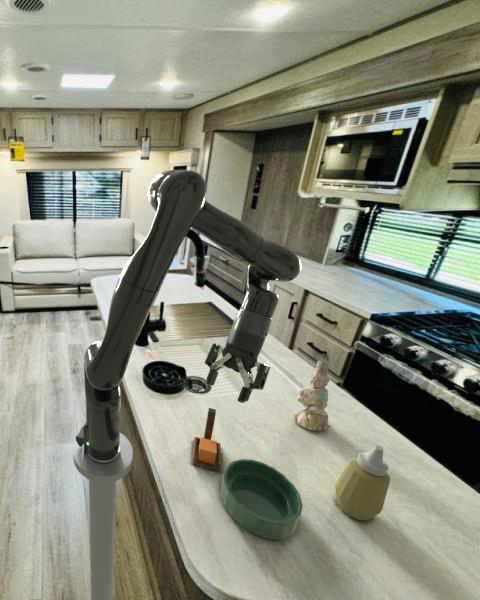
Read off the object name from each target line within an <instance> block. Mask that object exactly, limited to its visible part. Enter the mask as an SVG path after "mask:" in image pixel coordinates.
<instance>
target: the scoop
mask: <svg viewBox="0 0 480 600" xmlns="http://www.w3.org/2000/svg"><path fill="white" fill-rule="evenodd" d="M207 409H208V410H207V417H206V421H205V422H206V423H205V428H204V435H203V438H204V439H208V440H212V436H213V432H214V427H215V419H216V414H217V409H215V408H211V407H208V408H207ZM200 438H201V437H196V436H194V439H193V449H192V451H193V452H192V465H195V466H197V467H201V468H205V469H207V470H211V471H215V472H218V473H220V472H221V467H222V457H221V456H222V455H221V454H222V453H221V452H222V451H221V443H220V442H217V454H216V459H215V464H211V463H207V462H203V461H200V460H198V454H199V444H200Z"/></svg>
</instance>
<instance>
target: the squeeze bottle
mask: <svg viewBox="0 0 480 600" xmlns="http://www.w3.org/2000/svg"><path fill="white" fill-rule="evenodd" d="M388 471H389V465H388V463H387V462H386V461H385V460H384V448H383V446H380V445H375V446H374V447H373V448H372V449H371V450H370V451H369V452H366V451H362V452H360V453H359V454H358V456H356V457H352V458H351V459H350V460H349V462H348V463H347V465H346V466H345V468H344V470H343V471H342V473H341V474H340V476H339V478H338V479H337V480H336V482H335V484H334V489H335V497H336V503H337V505H338V506H339V508H340V509H341V510H342V511H343V512H344V513H345V514H347V515H348V516H350V517H351V518H354V519H356V520H358V521H367V520H370V519H372V518H374V517H375V516H377V515H379V514H381V512H382V510H383V508H384V504H385V501H386V498H387V494H388V490H389V486H390V483H391V477H390V474H389V473H388Z"/></svg>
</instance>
